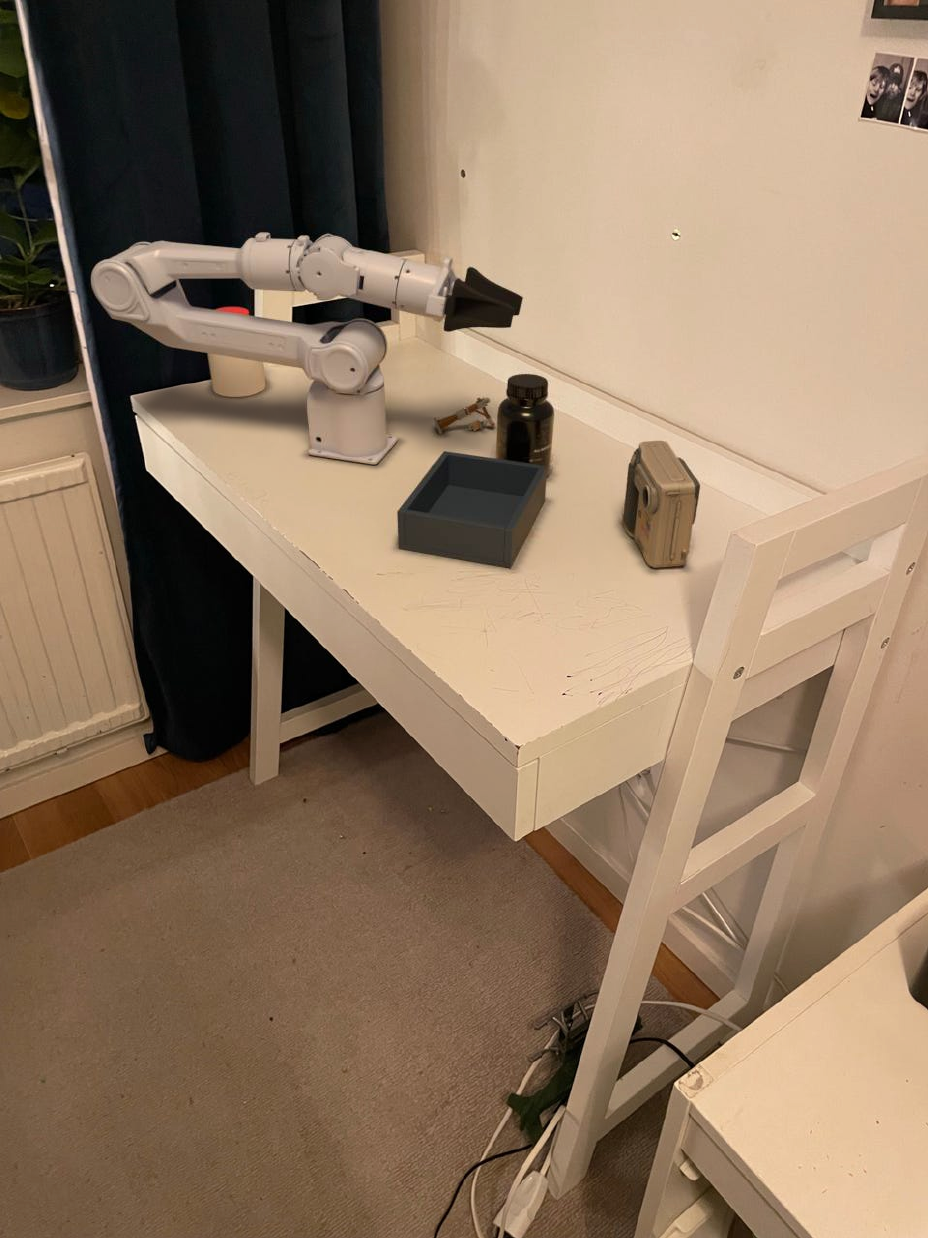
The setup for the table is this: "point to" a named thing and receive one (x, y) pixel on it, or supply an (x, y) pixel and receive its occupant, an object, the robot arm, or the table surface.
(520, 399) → the supplement bottle
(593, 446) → the table surface
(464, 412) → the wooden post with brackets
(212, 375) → the pill bottle
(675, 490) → the camera
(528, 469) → the bin
